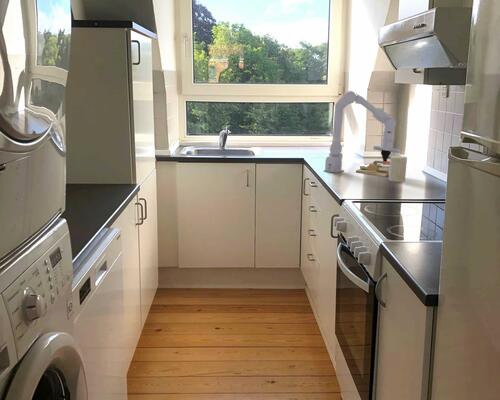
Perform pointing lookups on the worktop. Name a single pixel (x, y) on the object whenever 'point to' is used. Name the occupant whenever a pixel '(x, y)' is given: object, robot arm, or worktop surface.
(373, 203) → the worktop surface
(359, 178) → the worktop surface
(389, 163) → the valve lever
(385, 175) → the mount board
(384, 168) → the valve pipe
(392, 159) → the cup
